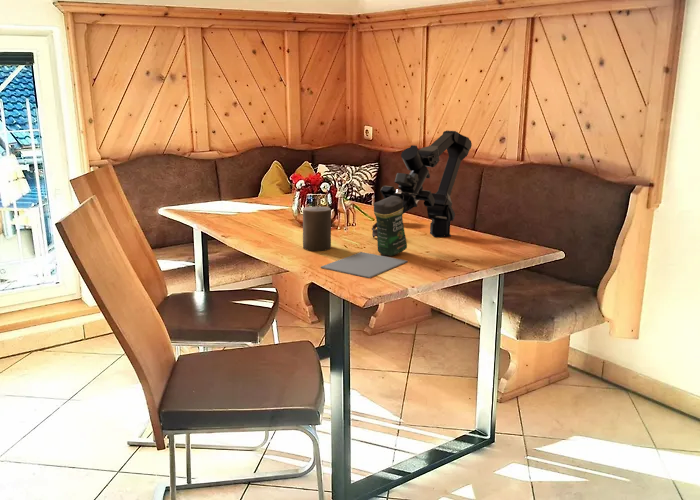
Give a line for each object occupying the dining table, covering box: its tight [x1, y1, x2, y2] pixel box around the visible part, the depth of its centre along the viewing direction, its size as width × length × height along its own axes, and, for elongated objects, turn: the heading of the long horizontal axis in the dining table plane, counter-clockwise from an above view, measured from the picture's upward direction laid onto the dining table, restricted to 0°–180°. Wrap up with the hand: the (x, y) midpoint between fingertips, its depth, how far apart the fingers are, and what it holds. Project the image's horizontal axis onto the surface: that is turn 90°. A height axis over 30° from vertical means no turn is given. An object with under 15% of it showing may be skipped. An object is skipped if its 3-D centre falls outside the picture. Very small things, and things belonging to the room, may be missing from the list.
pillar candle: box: [302, 204, 332, 252], centre depth 221 cm, size 10×10×15 cm
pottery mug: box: [371, 221, 377, 239], centre depth 237 cm, size 12×10×8 cm
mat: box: [320, 251, 409, 279], centre depth 203 cm, size 22×18×1 cm
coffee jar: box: [373, 196, 408, 257], centre depth 212 cm, size 10×8×19 cm
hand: (397, 215), depth 214 cm, fingers closed, pressing on coffee jar
